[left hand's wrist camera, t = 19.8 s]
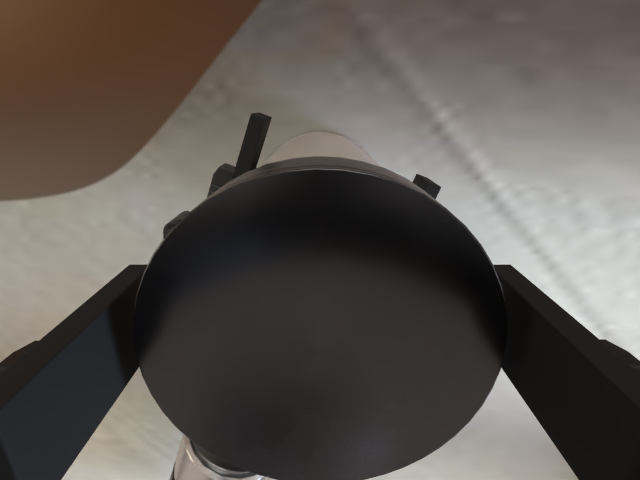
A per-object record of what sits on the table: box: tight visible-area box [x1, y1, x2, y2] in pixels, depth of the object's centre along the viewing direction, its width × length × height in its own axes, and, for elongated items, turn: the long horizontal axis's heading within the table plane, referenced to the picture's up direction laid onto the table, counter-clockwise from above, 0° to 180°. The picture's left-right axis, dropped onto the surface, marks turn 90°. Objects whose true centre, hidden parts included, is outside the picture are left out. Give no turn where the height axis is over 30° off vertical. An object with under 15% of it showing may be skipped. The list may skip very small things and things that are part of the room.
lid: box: [133, 156, 508, 480], centre depth 11 cm, size 10×10×2 cm
